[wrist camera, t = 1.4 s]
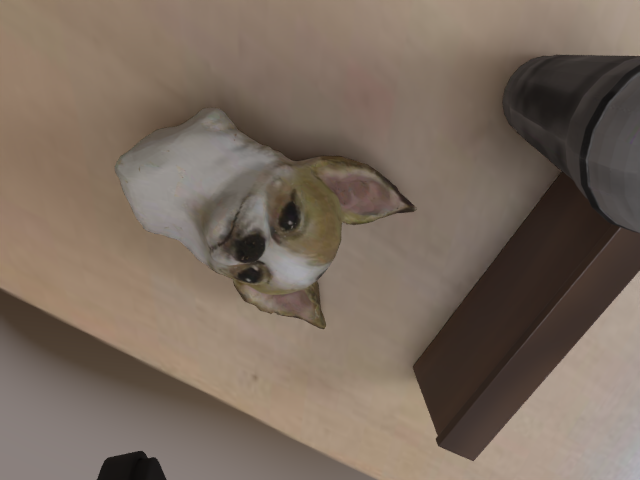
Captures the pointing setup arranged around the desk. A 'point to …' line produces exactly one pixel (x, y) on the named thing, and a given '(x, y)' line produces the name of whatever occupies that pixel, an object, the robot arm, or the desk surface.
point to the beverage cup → (585, 125)
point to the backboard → (523, 317)
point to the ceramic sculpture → (252, 207)
